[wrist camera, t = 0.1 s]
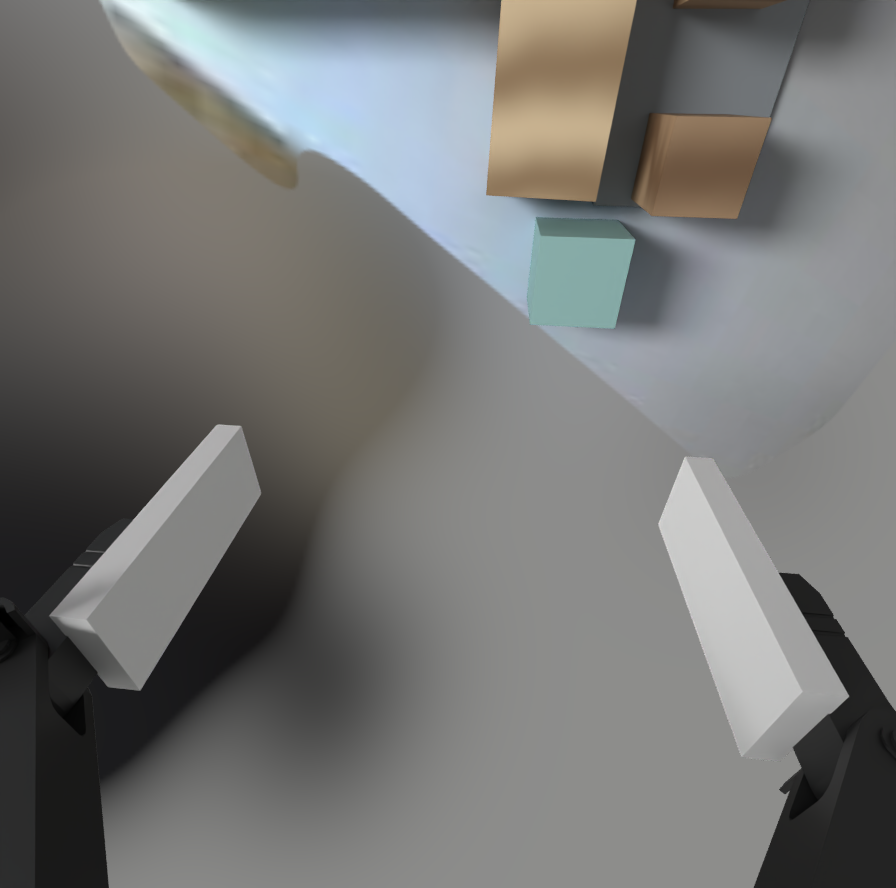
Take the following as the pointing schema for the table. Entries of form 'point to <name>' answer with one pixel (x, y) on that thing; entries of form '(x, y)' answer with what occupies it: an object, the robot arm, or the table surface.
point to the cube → (578, 272)
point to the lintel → (555, 95)
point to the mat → (694, 74)
